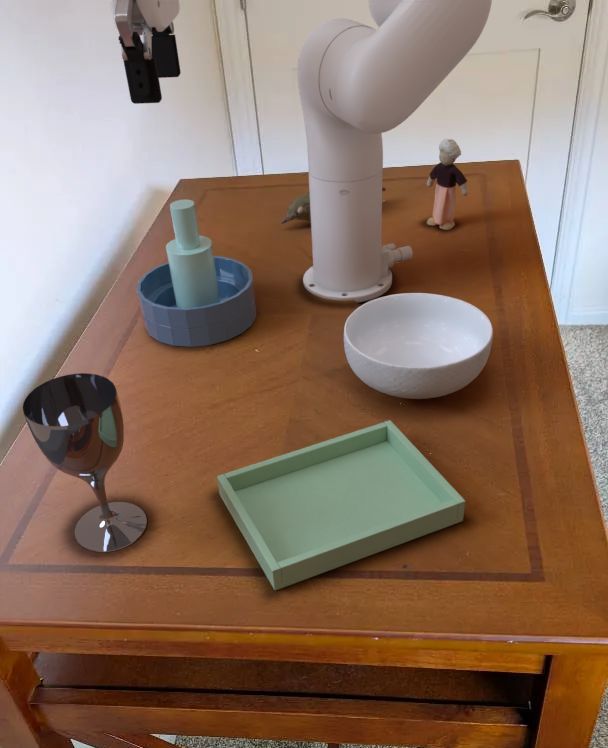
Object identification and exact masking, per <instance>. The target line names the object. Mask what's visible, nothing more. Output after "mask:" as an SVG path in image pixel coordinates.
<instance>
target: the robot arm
mask: <svg viewBox="0 0 608 748" xmlns="http://www.w3.org/2000/svg"><path fill="white" fill-rule="evenodd" d="M108 1H109V7H110V10H111V15H112V20H113V24H114V26H115V28H116V29H117V32H118V34H119V35H118V41H119V44H120V47H121V49H120V50H121V58H122V61H123V66H124V70H125V76H126V81H127V82H126V83H127V87H128V93H129V97H130V101H131V103H132V104H136V105H137V104H138V105H139V104H141V105H142V104H159V103H160V102H162V99H163V97H162V90H161V84H160V79H162V78H163V79H164V78H165V79H166V78H167V79H168V78H178V77H180V75H181V73H182V72H181V66H180V59H179V51H178V45H177V44H178V43H177V38H176V34H175V25H174V20H175V19H176V18H177V17H178V15H179V13H180V9H181V7H180V1H179V0H108ZM367 1H368V8H369V12H370V13H369V14H370V15H371V17H372V19H373V22H375V24H376V25H377V26H378V28H377V29H376V28H373V27H372V26H369V25H366V24H364V23H360V22H359V21H355V20H353V19H348V18H340V17H339V18H331V19H327V20H325V21H323V22H321V23H319V24H318V25H316V26H315V27H314V28H313V29H311V31H310V32H309V33H308V35H306V37H305V38H304V41H303V42H302V45H301V47H300V50H299V54H298V58H297V68H296V70H297V71H296V75H297V76H296V78H297V88H298V94H299V99H300V105H301V109H302V110H301V111H302V116H303V121H304V128H305V137H306V147H307V148H306V149H307V165H308V171H307V173H308V189H309V190H308V191H309V192H310V212H311V221H310V229H311V248H312V249H311V251H312V266H310V267H309V268H308V269H307V270H306V271H305V272H304V274H303V276H302V283H303V287H304V288H305V290H306V291H308V292H309V293H311V294H312V295H314V296H316V297H319V298H321V299H325V300H332V301H354V302H356V303H357V304H359V303H364V302H365V303H366V302H369V301H372V300H374V299H377V298H380V297H381V296H382V295H384V294H385V293H387V292H388V291H389V290H390V288H391V286H392V283H393V274H392V271H391V269H390V268H392V267H393V266H394V264H397V263H404V262H407V261H411V260H412V259H413V257H414V254H413V249H412V247H411V245H405V246H402V247H396V244H395V243H393V242H392V243H388V244H384V245H382V240H383V239H382V235H383V233H382V232H383V204H382V201H383V191H382V187H383V169H384V146H383V135H382V133H386V132H389V131H391V130H394V129H395V128H397V127H398V126H400V125H401V124H403V123H404V122H405V121H407V119H409V118H410V117H411V116H412V114H413V113H415V111H416V110H418V108H419V107H420V106H421V105H422V104H423V103H424V102H425V101H426V100H427V99H428V97H429V96H430V95H431V94H432V93H433V92H434V91H435V90H436V89H437V88H438V87H439V86H440V84H441V83H443V81H444V80H445V79H446V78H447V77H448V76H449V75H450V73H451V72H452V71H453V70H454V69H455V68H456V67H457V66H458V65H459V64H460V62H462V60H463V59H464V58H465V57H466V56H467V55H468V53H469V52H470V51H471V50H472V48H473V47H474V46H475V44H476V43H477V42H478V40H479V38H480V37H481V35H482V33H483V31H484V29H485V26H486V24H487V22H488V20H489V17H490V12H491V8H492V1H493V0H367ZM141 36H142V39H141Z"/></svg>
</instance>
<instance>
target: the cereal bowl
mask: <svg viewBox="0 0 608 748" xmlns="http://www.w3.org/2000/svg"><path fill="white" fill-rule="evenodd" d="M493 337H494V329H493V325H492V322H491V321H490V318H489V317H488V316H487V315H486V313H484V311H482V310H481V309H479V308H478V307H476V306H475V305H473V304H471V303H469V302H467V301H464V300H462V299H459V298H456V297H452V296H448V295H443V294H437V293H429V292H428V293H426V292H405V293H396V294H389V295H386V296H382V297H381V296H380V297H377V298H375V299H372V300H369V301H366V302H365V303H363V304H361V305H360V306H358V307H357V308H355V309H354V310H353V312H351V313H350V315H349V316H348V317H347V319H346V321H345V323H344V327H343V347H344V353H345V358H346V360H347V363H348V364H349V367H350V369H351V370H352V372H353V373H354V374H355V376H356V377H358V378H359V380H361V381H362V382H363V383H364V384H365V385H367V386H368V387H370V388H372V389H373V390H375V391H378V392H379V393H382V394H385V395H388V396H391V397H397V398H402V399H411V400H427V399H433V398H440V397H444V396H447V395H450V394H453V393H456V392H458V391H460V390H462V389H464V388H465V387H467V386H468V385H469V384H470V383H472V382H473V381H474V380H475V379H476V378H477V377H478V376H479V375H480V374H481V372H482V371H483V369H484V367H485V366H486V364H487V361H488V360H489V356H490V353H491V349H492V343H493Z"/></svg>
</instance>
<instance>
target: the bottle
mask: <svg viewBox="0 0 608 748" xmlns="http://www.w3.org/2000/svg"><path fill="white" fill-rule="evenodd" d="M169 210H170V215H171V221H172V228H173V232H174V239H172V240H170V241H169V242H168V243H166V245H165V250H166V251H165V252H166V257H167V262H168V263H169V268H170V273H171V279H172V284H173V289H174V295H175V300H176V305H177V307H179V308H190V307H199V306H206V305H210V304H214V303H217V302H220V296H219V289H218V282H217V275H216V268H215V261H214V256H215V254H214V249H213V247H214V246H213V241H212V240H211V238H209V237H207V236H204V235H200V231H199V224H198V217H197V210H196V204H195V201H194V200H191V199H177V200H174V201H172V202H171V203H170V204H169Z"/></svg>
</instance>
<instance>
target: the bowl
mask: <svg viewBox="0 0 608 748" xmlns="http://www.w3.org/2000/svg"><path fill="white" fill-rule="evenodd" d="M214 261H215V268H216V275H217V282H218V289H219V296H220V302H217V303H214V304H210V305H206V306H199V307H190V308H179V307H177V305H176V300H175V295H174V289H173V284H172V279H171V273H170V268H169V263H168V261H166V262H163V263H162V264H159V265H157V266H154V267H153V268H151V269H150V270H149V271H147V272H145V273H144V274H143V275H142V276H141V278H140V279H139V280H138V281H137V283H136V295H137V299H138V303H139V308H140V313H141V316H142V321H143V326H144V329H145V330H146V332H147V334H148V335H149V336H150V337H151V338H152V339H154V340H155V341H158V342H159V343H161V344H166V345H169V346H175V347H187V348H188V347H189V348H196V347H205V346H213V345H216V344H219V343H223V342H226V341H229V340H231V339H233V338H235V337H238V336H239V335H242V334H243V333H244V332H246V331H247V330H248V329H249V328H251V326H252V325H253V324H254V322H255V320H256V318H257V316H258V314H257V313H258V312H257V305H256V296H255V287H254V277H253V271H252V270H251V269H250V268H249V266H247V264H245V263H244V262H241V261H239V260H237V259H235V258H232V257H227V256H221V255H214Z"/></svg>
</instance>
